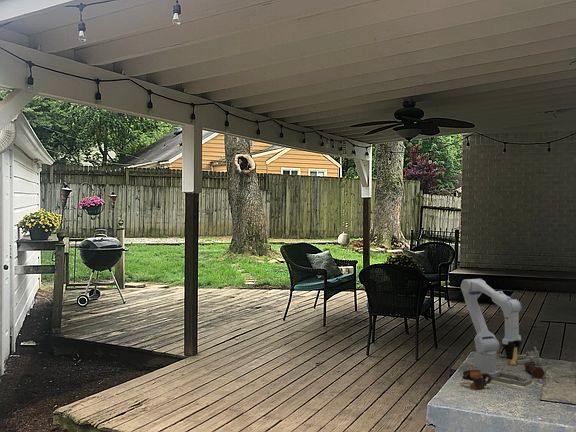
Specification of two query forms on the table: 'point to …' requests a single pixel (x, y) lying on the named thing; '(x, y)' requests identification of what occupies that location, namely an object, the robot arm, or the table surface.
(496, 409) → the table surface
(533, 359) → the bike brake
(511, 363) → the brass peg
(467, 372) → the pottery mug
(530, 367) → the bolt
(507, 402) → the table surface
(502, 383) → the keyhole plate
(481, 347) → the robot arm
